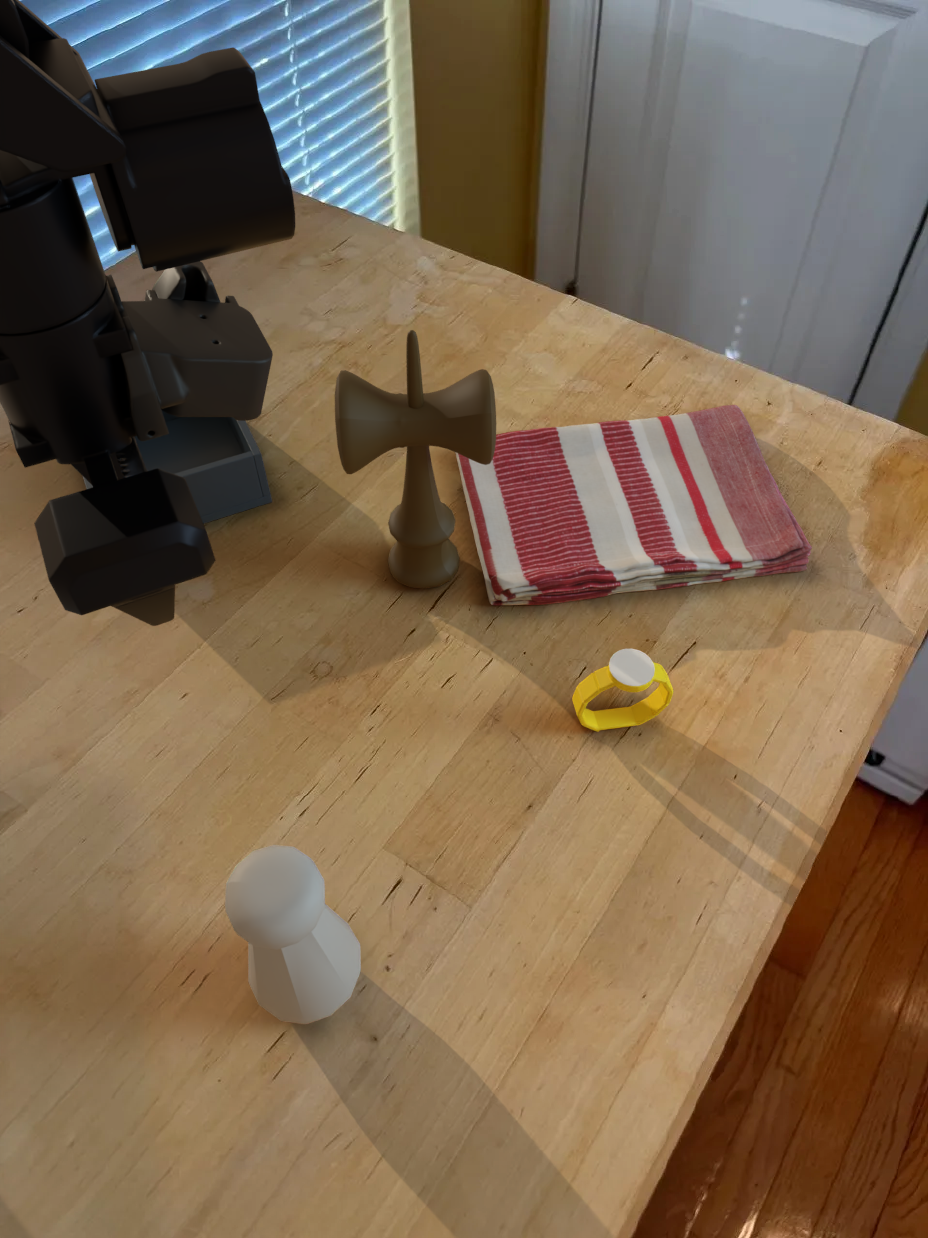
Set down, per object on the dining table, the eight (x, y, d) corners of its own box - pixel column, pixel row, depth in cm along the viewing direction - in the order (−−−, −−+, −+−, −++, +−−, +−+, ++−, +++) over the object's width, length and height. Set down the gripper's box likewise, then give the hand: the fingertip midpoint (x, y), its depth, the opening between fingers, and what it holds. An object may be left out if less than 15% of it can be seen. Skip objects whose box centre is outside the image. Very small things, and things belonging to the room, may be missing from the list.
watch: (576, 746, 59) (586, 694, 54) (565, 709, 60) (573, 656, 56) (668, 731, 59) (685, 678, 55) (654, 694, 61) (670, 640, 56)
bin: (112, 552, 69) (91, 504, 65) (80, 449, 75) (58, 400, 71) (272, 502, 72) (261, 453, 68) (227, 407, 79) (214, 357, 75)
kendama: (357, 539, 69) (326, 301, 54) (487, 533, 70) (494, 295, 54) (356, 602, 66) (322, 367, 50) (493, 596, 66) (502, 360, 50)
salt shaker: (319, 903, 53) (284, 796, 42) (387, 978, 50) (367, 883, 40) (234, 978, 50) (174, 884, 40) (301, 1060, 48) (256, 983, 37)
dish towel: (812, 572, 67) (823, 547, 65) (491, 615, 65) (492, 591, 63) (732, 419, 78) (739, 393, 76) (452, 451, 75) (452, 426, 73)
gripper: (307, 373, 33) (350, 635, 46) (175, 143, 44) (239, 407, 56) (-18, 465, 31) (121, 718, 43) (-77, 196, 41) (49, 462, 53)
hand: (141, 557), depth 49 cm, fingers open, 9 cm apart
